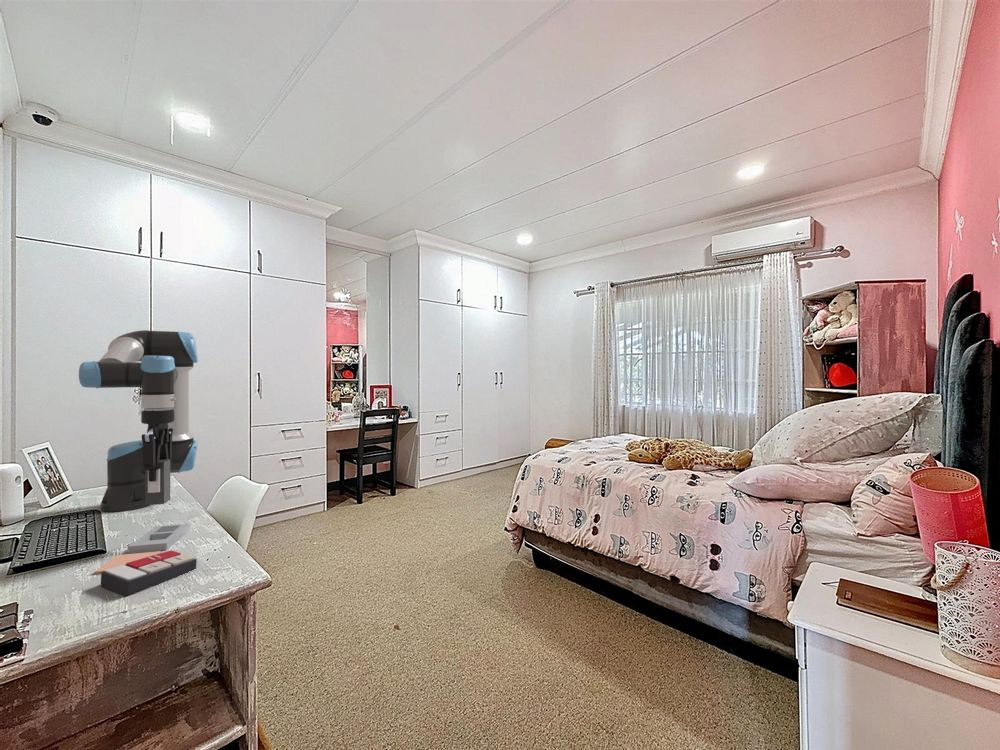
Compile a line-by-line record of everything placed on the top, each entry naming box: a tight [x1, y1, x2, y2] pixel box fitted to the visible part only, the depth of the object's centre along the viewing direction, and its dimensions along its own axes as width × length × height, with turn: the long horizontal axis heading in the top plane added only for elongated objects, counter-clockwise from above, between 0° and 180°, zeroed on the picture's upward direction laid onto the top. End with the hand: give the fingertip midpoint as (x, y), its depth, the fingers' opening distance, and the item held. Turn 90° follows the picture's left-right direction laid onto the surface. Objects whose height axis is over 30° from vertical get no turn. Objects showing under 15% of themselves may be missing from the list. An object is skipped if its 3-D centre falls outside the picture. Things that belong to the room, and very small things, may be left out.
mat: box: [93, 551, 162, 575], centre depth 113 cm, size 10×10×1 cm
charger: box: [145, 459, 171, 506], centre depth 125 cm, size 4×4×12 cm
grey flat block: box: [127, 523, 191, 554], centre depth 127 cm, size 16×9×2 cm, turn 16°
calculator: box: [100, 549, 198, 598], centre depth 105 cm, size 11×4×15 cm
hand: (158, 489), depth 125 cm, fingers closed on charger, 4 cm apart
